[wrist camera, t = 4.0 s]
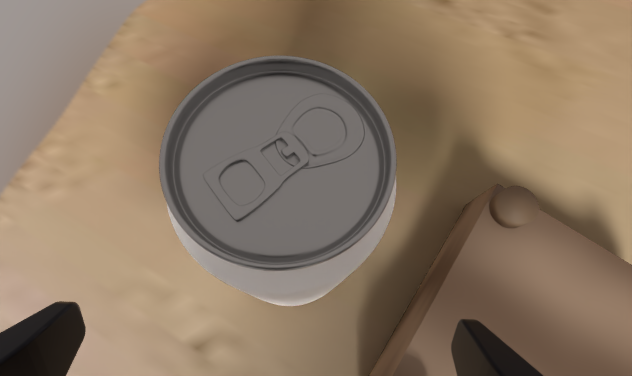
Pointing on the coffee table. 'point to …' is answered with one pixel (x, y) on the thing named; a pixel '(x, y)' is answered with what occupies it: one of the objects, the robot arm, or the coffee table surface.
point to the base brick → (518, 294)
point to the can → (279, 176)
